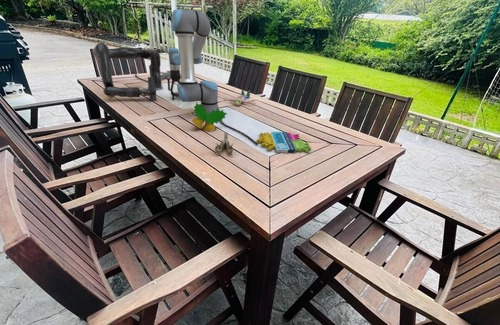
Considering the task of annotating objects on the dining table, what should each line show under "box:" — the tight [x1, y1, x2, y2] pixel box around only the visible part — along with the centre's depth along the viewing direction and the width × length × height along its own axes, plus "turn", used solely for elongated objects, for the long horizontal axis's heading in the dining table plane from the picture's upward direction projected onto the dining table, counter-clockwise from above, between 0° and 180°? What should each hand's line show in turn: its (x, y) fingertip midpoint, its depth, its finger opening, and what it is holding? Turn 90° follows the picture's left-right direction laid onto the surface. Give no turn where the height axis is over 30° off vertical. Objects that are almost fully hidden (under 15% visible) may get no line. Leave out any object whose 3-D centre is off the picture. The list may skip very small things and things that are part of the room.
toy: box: [223, 89, 257, 106], centre depth 219 cm, size 28×7×30 cm
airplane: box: [160, 70, 181, 81], centre depth 280 cm, size 38×31×10 cm
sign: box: [255, 131, 312, 154], centre depth 152 cm, size 26×2×30 cm
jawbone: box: [214, 131, 234, 156], centre depth 136 cm, size 9×15×10 cm
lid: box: [174, 91, 180, 98], centre depth 215 cm, size 6×6×2 cm
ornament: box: [191, 101, 228, 132], centre depth 162 cm, size 21×8×15 cm, turn 105°
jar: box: [147, 76, 158, 102], centre depth 204 cm, size 5×5×18 cm
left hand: (155, 92), depth 206 cm, fingers closed on jar, 5 cm apart
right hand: (177, 98), depth 216 cm, fingers closed on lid, 6 cm apart
